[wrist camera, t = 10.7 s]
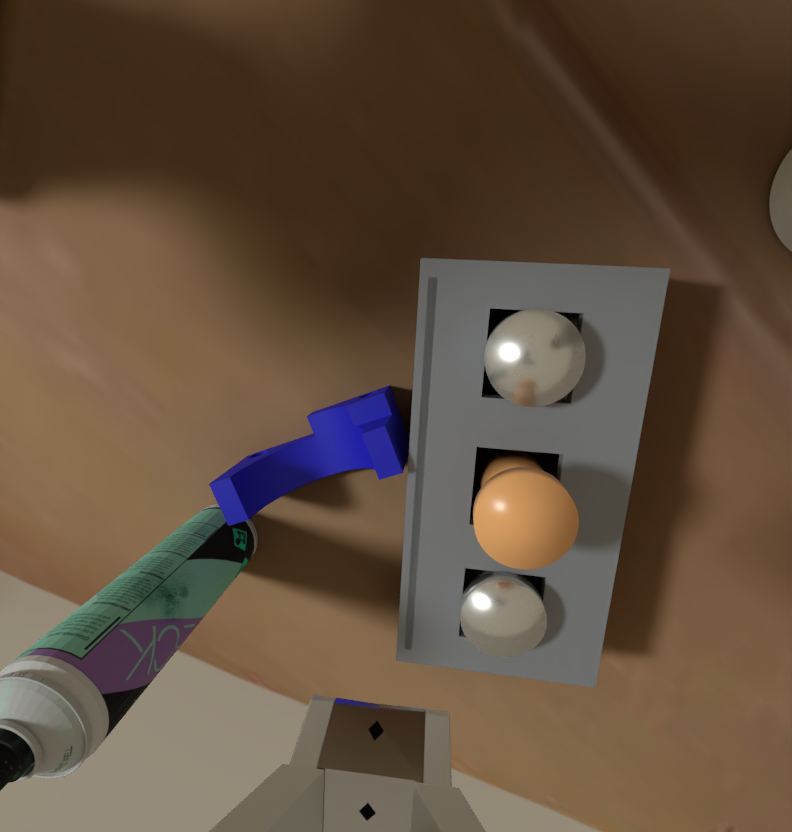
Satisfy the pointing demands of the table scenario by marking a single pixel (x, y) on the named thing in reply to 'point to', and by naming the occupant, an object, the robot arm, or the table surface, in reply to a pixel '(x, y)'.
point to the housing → (524, 431)
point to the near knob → (534, 357)
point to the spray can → (114, 648)
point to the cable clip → (319, 454)
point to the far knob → (502, 613)
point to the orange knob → (523, 513)
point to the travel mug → (782, 202)
